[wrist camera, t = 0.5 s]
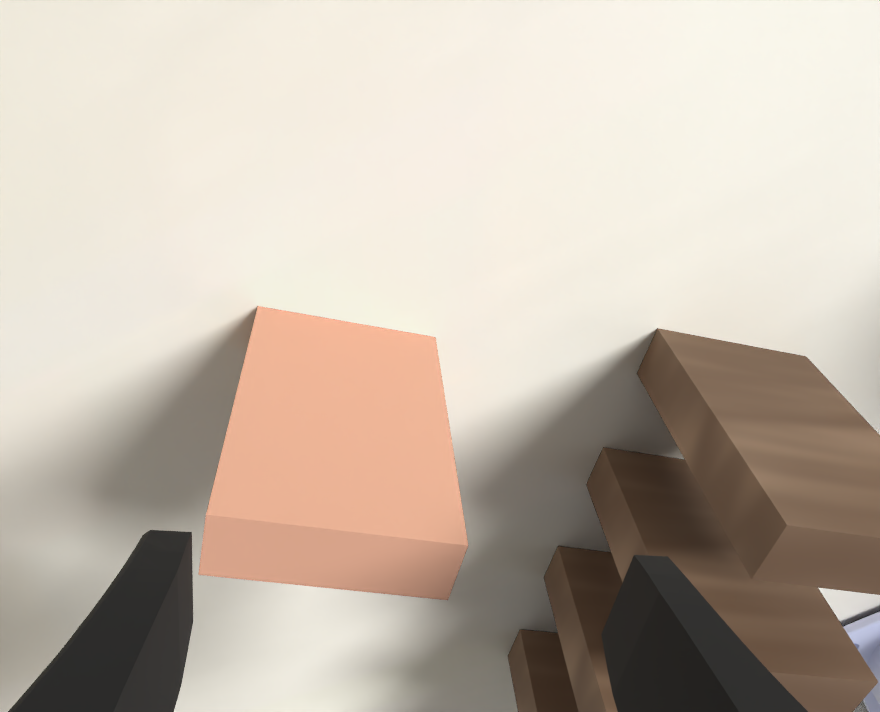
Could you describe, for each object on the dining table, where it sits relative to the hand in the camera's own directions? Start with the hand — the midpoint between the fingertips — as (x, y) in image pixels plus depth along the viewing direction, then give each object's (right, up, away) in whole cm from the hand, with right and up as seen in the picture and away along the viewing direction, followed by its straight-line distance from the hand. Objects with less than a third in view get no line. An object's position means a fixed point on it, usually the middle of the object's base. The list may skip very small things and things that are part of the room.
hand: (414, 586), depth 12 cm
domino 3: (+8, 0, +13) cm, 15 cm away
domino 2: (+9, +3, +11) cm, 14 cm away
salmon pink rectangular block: (-2, +4, +9) cm, 10 cm away
